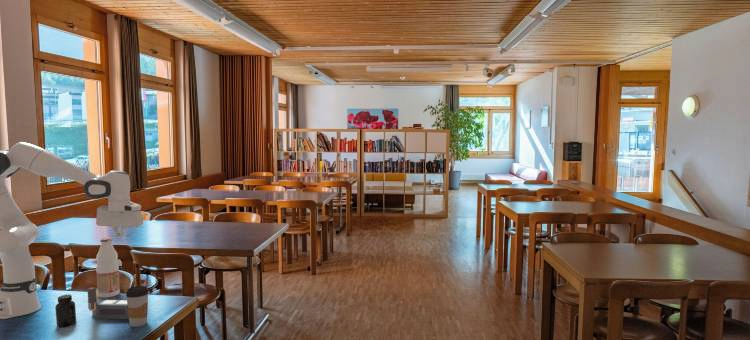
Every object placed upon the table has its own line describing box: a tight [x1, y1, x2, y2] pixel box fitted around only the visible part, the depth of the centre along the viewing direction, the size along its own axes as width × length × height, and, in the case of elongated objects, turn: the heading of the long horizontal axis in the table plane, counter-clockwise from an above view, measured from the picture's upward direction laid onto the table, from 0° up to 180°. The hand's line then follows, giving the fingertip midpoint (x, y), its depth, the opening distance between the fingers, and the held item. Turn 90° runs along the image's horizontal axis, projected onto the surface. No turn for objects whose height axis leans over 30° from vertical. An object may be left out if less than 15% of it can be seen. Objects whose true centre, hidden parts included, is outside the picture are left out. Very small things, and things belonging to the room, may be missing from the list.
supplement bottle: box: [54, 294, 77, 329], centre depth 191 cm, size 7×7×12 cm
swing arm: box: [87, 286, 100, 312], centre depth 193 cm, size 18×3×8 cm, turn 29°
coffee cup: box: [125, 285, 149, 328], centre depth 191 cm, size 8×8×15 cm
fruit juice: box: [95, 237, 121, 299], centre depth 226 cm, size 9×9×28 cm
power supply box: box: [91, 299, 129, 320], centre depth 200 cm, size 18×6×8 cm, turn 88°
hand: (119, 236), depth 212 cm, fingers closed
